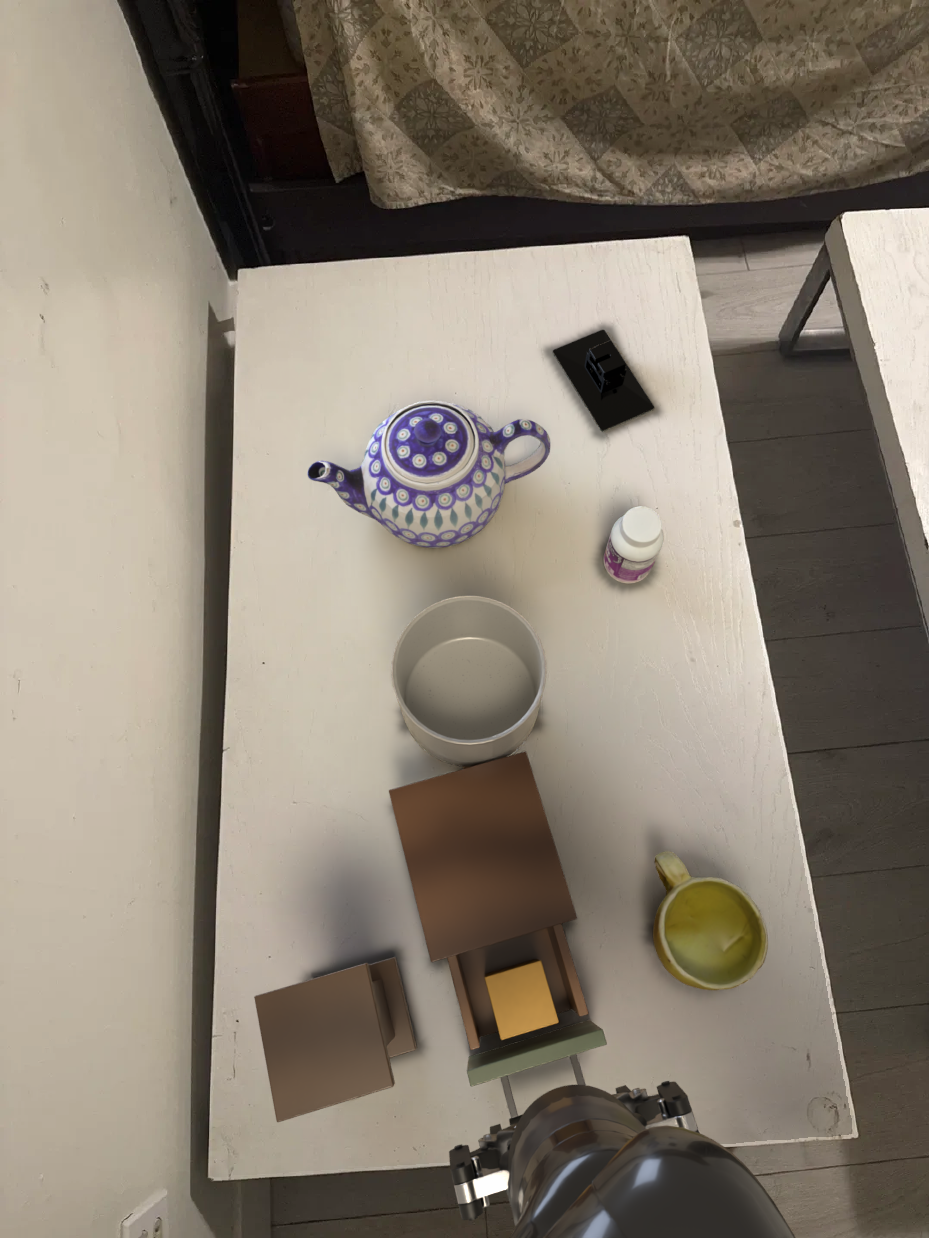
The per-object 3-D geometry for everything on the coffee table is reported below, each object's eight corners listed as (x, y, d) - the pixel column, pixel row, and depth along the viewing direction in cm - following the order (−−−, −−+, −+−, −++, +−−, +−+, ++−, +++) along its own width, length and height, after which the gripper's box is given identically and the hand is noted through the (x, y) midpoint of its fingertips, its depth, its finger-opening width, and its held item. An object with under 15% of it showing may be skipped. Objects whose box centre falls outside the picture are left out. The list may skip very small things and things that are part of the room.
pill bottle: (599, 541, 96) (612, 500, 87) (648, 538, 96) (665, 497, 87) (605, 587, 94) (618, 549, 85) (654, 584, 94) (673, 546, 85)
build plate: (551, 352, 105) (554, 327, 100) (605, 330, 106) (610, 304, 101) (601, 432, 100) (606, 409, 96) (656, 408, 101) (664, 384, 97)
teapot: (533, 426, 101) (541, 343, 87) (559, 545, 96) (573, 477, 82) (318, 459, 100) (291, 381, 86) (332, 581, 95) (306, 518, 81)
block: (537, 958, 79) (541, 959, 74) (553, 1016, 78) (559, 1022, 72) (484, 974, 79) (484, 976, 73) (499, 1032, 77) (501, 1040, 72)
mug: (790, 979, 78) (783, 970, 70) (682, 1011, 81) (662, 1006, 72) (737, 848, 85) (724, 825, 76) (637, 881, 87) (615, 863, 79)
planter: (408, 658, 92) (392, 596, 75) (532, 656, 91) (543, 594, 75) (407, 782, 87) (389, 745, 70) (537, 780, 87) (550, 743, 70)
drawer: (612, 1092, 77) (627, 1110, 68) (487, 1131, 76) (487, 1155, 67) (548, 882, 83) (556, 875, 74) (432, 916, 82) (427, 913, 74)
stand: (417, 1047, 79) (393, 1086, 58) (331, 1074, 78) (276, 1122, 58) (395, 956, 82) (366, 962, 61) (312, 981, 81) (253, 996, 60)
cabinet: (566, 920, 82) (577, 918, 72) (437, 959, 81) (431, 962, 71) (521, 772, 87) (526, 750, 77) (399, 806, 86) (388, 789, 76)
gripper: (465, 1323, 40) (473, 1221, 55) (758, 1229, 41) (686, 1154, 56) (424, 1141, 42) (442, 1091, 58) (701, 1057, 43) (647, 1029, 59)
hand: (563, 1122), depth 57 cm, fingers open, 8 cm apart
